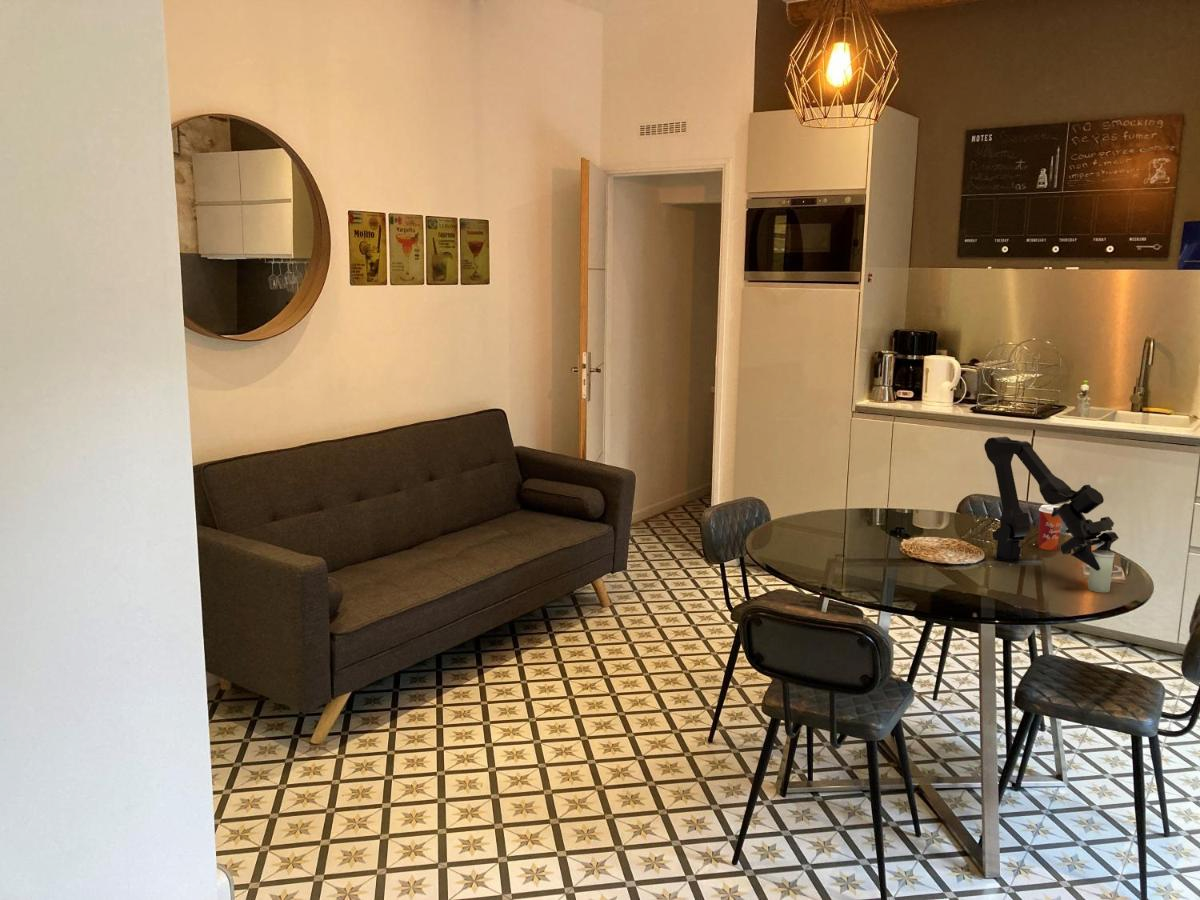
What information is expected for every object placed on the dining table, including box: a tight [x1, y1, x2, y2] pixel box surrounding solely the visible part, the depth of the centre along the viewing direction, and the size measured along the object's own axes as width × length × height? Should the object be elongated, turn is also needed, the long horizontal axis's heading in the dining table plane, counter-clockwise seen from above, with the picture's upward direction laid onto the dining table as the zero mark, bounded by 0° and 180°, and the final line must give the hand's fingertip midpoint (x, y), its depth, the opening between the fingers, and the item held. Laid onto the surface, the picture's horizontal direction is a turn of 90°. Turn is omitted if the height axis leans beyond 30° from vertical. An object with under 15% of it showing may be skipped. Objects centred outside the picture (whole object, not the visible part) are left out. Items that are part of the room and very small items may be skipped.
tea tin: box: [1087, 549, 1115, 593], centre depth 270 cm, size 6×6×11 cm
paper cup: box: [1037, 504, 1063, 551], centre depth 311 cm, size 8×8×14 cm
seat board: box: [1081, 563, 1127, 585], centre depth 284 cm, size 11×11×3 cm
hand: (1105, 568), depth 269 cm, fingers closed on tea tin, 6 cm apart
